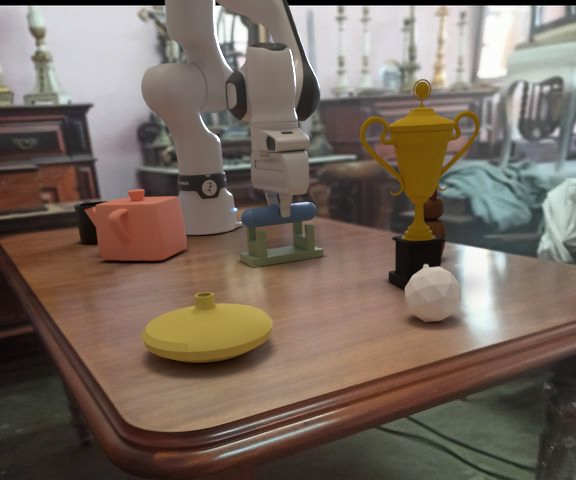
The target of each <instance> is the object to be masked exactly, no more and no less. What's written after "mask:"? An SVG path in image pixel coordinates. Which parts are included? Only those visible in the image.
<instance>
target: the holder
mask: <svg viewBox="0 0 576 480" xmlns="http://www.w3.org/2000/svg"><path fill="white" fill-rule="evenodd" d="M245 227H246V226H245ZM245 229H246V230H245V231H246V241H247V242H246V243H247V252H240V253H239V258H240V261H241V262H242V263H244V264H246V265H248V266H249V267H252V268H258V267H259V268H260V267H263V266H265V267H266V266H271V265H278V264H284V263H290V262H297V261H303V260H310V259H316V258H322V257H324V248H321V247H319V246H316V242H315V241H316V239H315V233H316V232H315V224H313V223H307V224H304V230H303V221H302V222H294V223H292V235H293V236H292V237H293V245H288V246H280V247H273V248H268V238H267V230H265V229H261V230H257V227H256V228H247V227H246V228H245ZM303 231H304V232H303Z"/></svg>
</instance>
